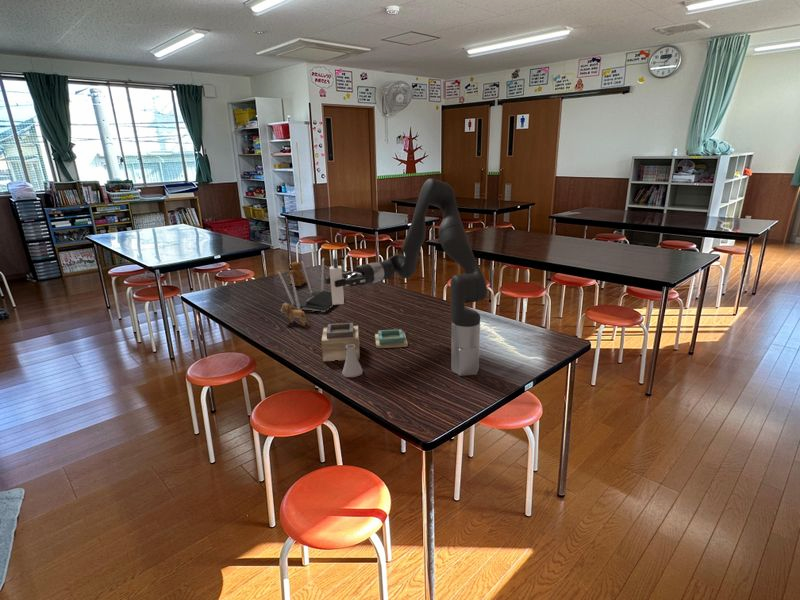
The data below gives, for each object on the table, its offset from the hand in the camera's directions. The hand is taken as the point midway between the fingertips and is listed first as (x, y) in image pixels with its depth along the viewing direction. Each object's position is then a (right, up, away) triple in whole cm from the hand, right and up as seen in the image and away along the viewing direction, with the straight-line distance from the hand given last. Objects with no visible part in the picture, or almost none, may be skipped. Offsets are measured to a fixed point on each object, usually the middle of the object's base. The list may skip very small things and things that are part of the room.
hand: (330, 282), depth 157 cm
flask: (+8, -31, -6) cm, 33 cm away
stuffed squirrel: (-35, +2, +100) cm, 106 cm away
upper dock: (+3, -26, +10) cm, 28 cm away
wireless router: (-18, -9, +66) cm, 69 cm away
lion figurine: (-22, -17, +40) cm, 49 cm away
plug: (+2, -7, +4) cm, 8 cm away
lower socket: (+21, -22, +19) cm, 36 cm away
